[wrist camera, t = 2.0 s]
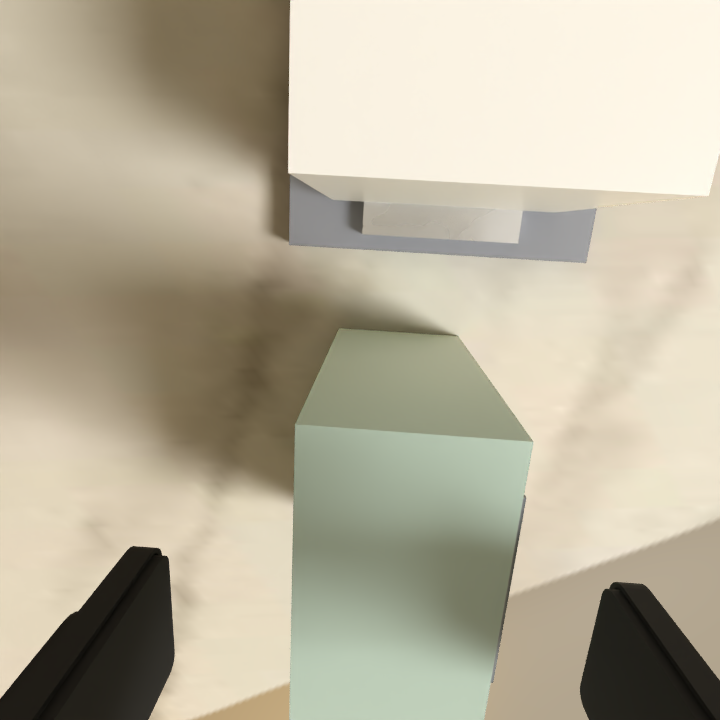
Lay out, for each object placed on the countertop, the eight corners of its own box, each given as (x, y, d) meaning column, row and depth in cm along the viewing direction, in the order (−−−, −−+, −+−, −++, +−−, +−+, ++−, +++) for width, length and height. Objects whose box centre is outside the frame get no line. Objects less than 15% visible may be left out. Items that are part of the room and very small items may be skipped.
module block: (464, 336, 17) (546, 442, 8) (442, 519, 19) (488, 751, 11) (339, 327, 17) (294, 424, 9) (330, 510, 20) (289, 732, 11)
